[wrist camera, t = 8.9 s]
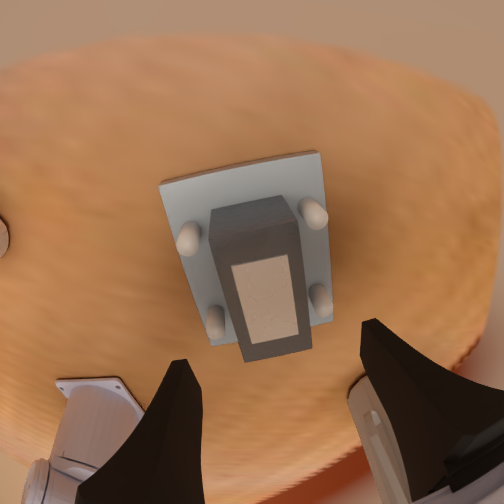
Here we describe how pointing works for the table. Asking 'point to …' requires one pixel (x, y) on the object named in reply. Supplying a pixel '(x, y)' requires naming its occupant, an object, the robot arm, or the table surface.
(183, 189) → the grey mounting plate
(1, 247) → the photo printer
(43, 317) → the table surface
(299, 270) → the block
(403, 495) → the water bottle
